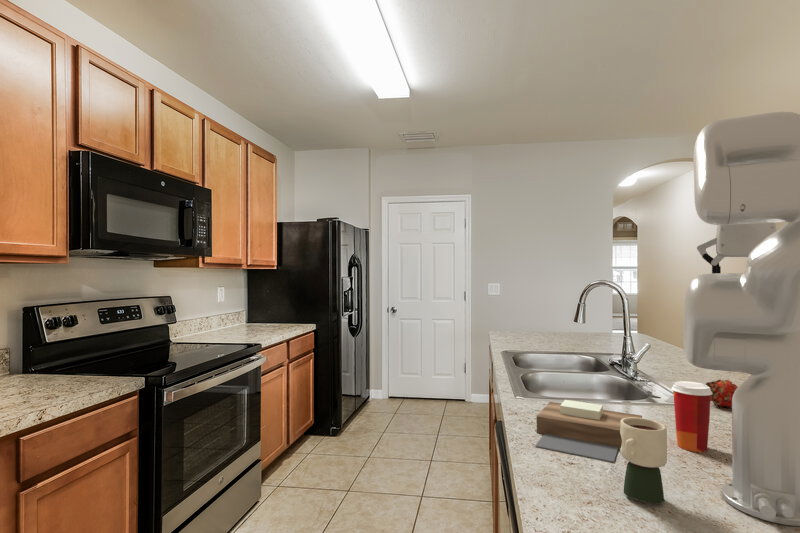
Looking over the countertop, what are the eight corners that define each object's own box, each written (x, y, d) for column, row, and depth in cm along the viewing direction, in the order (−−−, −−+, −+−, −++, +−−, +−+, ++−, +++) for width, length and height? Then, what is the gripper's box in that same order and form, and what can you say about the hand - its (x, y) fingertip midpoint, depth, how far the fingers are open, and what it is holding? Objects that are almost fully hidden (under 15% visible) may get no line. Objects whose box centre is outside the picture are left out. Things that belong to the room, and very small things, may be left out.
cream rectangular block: (599, 420, 106) (599, 411, 106) (560, 413, 111) (560, 405, 111) (602, 413, 111) (602, 405, 111) (565, 407, 116) (565, 399, 116)
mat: (613, 462, 92) (613, 461, 92) (535, 446, 100) (535, 445, 100) (618, 448, 99) (618, 446, 99) (545, 434, 108) (545, 433, 108)
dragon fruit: (708, 414, 127) (729, 414, 133) (737, 403, 122) (757, 403, 127) (691, 386, 132) (712, 387, 138) (718, 374, 126) (738, 375, 132)
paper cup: (704, 442, 102) (704, 381, 102) (719, 456, 95) (718, 390, 95) (666, 439, 104) (666, 379, 105) (677, 452, 97) (677, 387, 97)
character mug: (638, 481, 83) (638, 412, 84) (679, 497, 78) (679, 423, 78) (606, 499, 77) (606, 424, 77) (649, 517, 71) (648, 436, 71)
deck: (638, 451, 97) (638, 433, 97) (536, 432, 109) (536, 416, 109) (642, 431, 109) (642, 415, 109) (550, 416, 121) (550, 401, 121)
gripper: (697, 205, 97) (697, 284, 97) (802, 198, 88) (803, 285, 88) (695, 209, 103) (696, 283, 103) (793, 203, 94) (794, 284, 94)
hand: (745, 284), depth 96 cm, fingers open, 9 cm apart
